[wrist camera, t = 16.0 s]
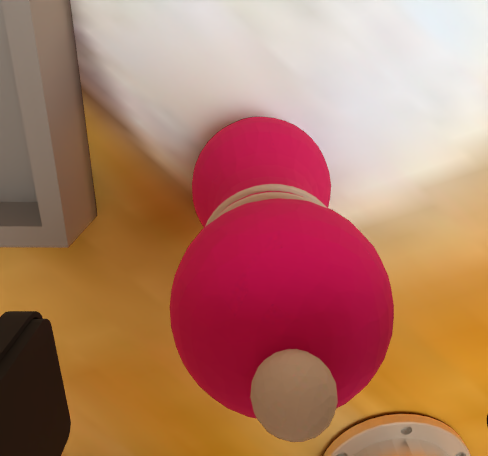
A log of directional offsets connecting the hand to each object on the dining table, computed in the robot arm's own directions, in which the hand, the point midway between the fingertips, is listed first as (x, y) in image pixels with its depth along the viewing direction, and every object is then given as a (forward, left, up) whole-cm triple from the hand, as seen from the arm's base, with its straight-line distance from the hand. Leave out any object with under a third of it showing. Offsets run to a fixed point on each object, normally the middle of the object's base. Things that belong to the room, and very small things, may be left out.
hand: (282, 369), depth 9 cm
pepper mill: (-1, 0, -19) cm, 19 cm away
